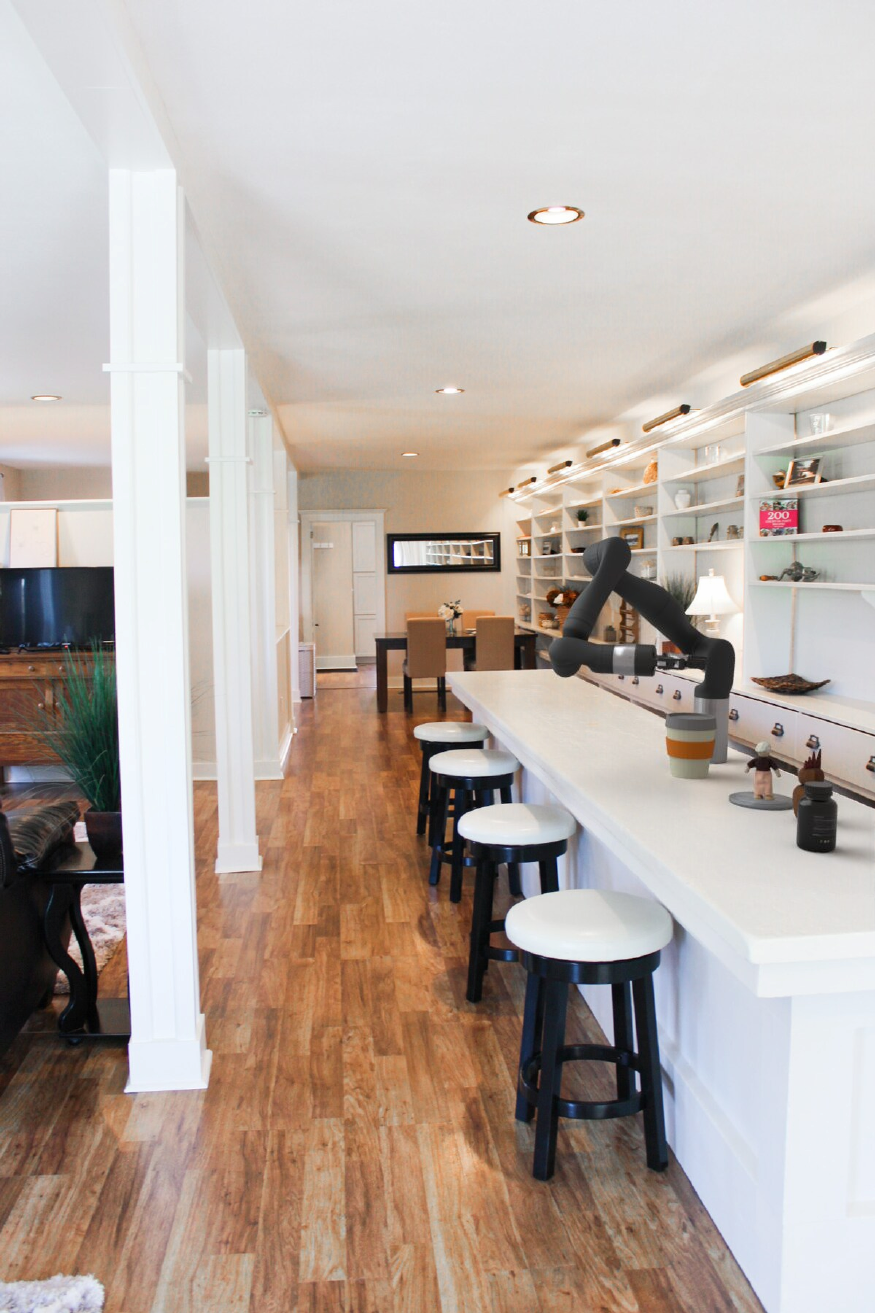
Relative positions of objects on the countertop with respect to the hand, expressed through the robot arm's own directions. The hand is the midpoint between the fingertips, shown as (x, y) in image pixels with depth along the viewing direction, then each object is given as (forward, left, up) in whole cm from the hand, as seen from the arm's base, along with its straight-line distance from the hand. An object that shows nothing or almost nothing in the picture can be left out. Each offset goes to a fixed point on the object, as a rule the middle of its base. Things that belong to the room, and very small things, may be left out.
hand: (706, 662), depth 215 cm
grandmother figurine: (+6, +13, -29) cm, 33 cm away
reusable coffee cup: (-18, -4, -30) cm, 35 cm away
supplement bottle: (+40, +22, -30) cm, 55 cm away
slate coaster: (+6, +13, -30) cm, 33 cm away
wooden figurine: (+20, +22, -30) cm, 42 cm away
